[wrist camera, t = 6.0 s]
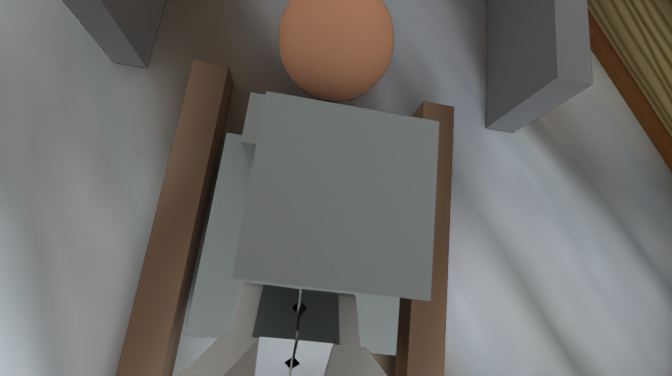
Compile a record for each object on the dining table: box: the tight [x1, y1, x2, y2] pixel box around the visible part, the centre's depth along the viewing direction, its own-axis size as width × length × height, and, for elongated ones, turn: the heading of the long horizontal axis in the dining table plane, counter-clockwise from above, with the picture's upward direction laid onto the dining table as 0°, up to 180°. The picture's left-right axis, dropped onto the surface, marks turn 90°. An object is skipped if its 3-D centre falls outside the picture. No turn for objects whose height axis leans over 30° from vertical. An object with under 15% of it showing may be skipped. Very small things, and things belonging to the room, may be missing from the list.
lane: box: [116, 60, 454, 376], centre depth 14 cm, size 12×22×2 cm, turn 173°
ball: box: [278, 0, 394, 101], centre depth 15 cm, size 5×5×5 cm
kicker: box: [185, 91, 439, 356], centre depth 11 cm, size 8×9×10 cm
